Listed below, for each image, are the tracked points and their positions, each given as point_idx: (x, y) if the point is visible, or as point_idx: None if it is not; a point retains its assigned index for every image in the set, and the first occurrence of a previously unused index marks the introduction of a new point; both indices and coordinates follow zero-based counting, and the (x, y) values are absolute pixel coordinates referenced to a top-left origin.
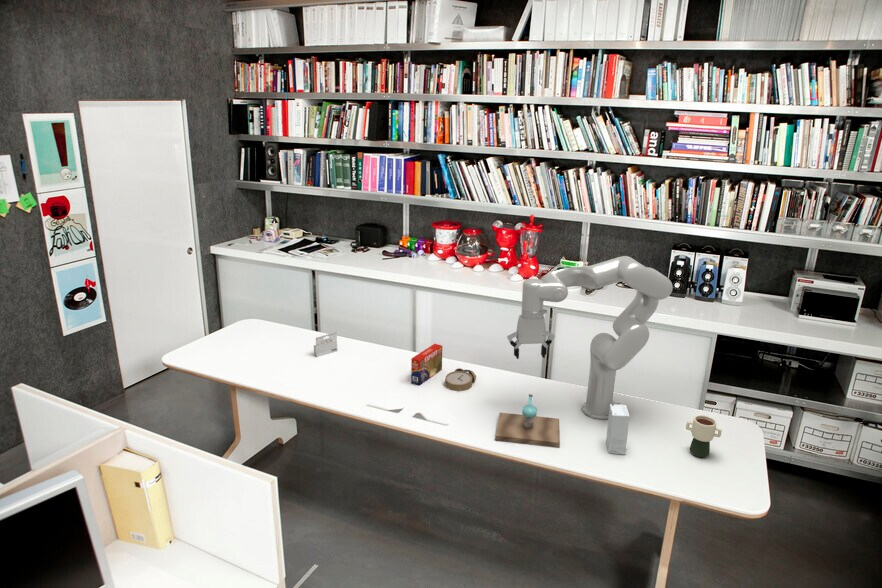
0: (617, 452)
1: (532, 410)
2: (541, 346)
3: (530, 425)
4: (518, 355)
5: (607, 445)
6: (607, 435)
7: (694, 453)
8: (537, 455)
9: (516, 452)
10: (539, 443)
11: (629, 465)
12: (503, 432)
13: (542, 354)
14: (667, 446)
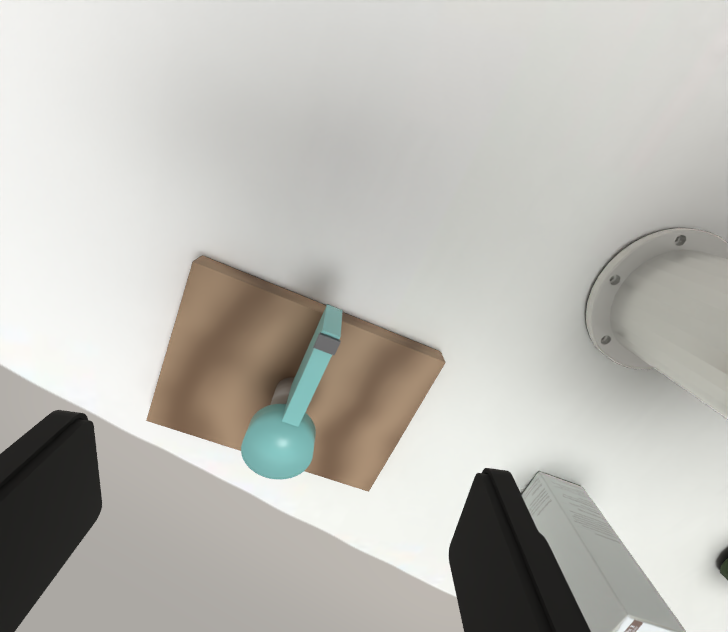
0: None
1: (284, 469)
2: (530, 622)
3: None
4: (56, 562)
5: None
6: (536, 525)
7: (724, 573)
8: (281, 495)
9: (218, 473)
10: None
11: None
12: (180, 408)
13: (464, 566)
14: (692, 520)
